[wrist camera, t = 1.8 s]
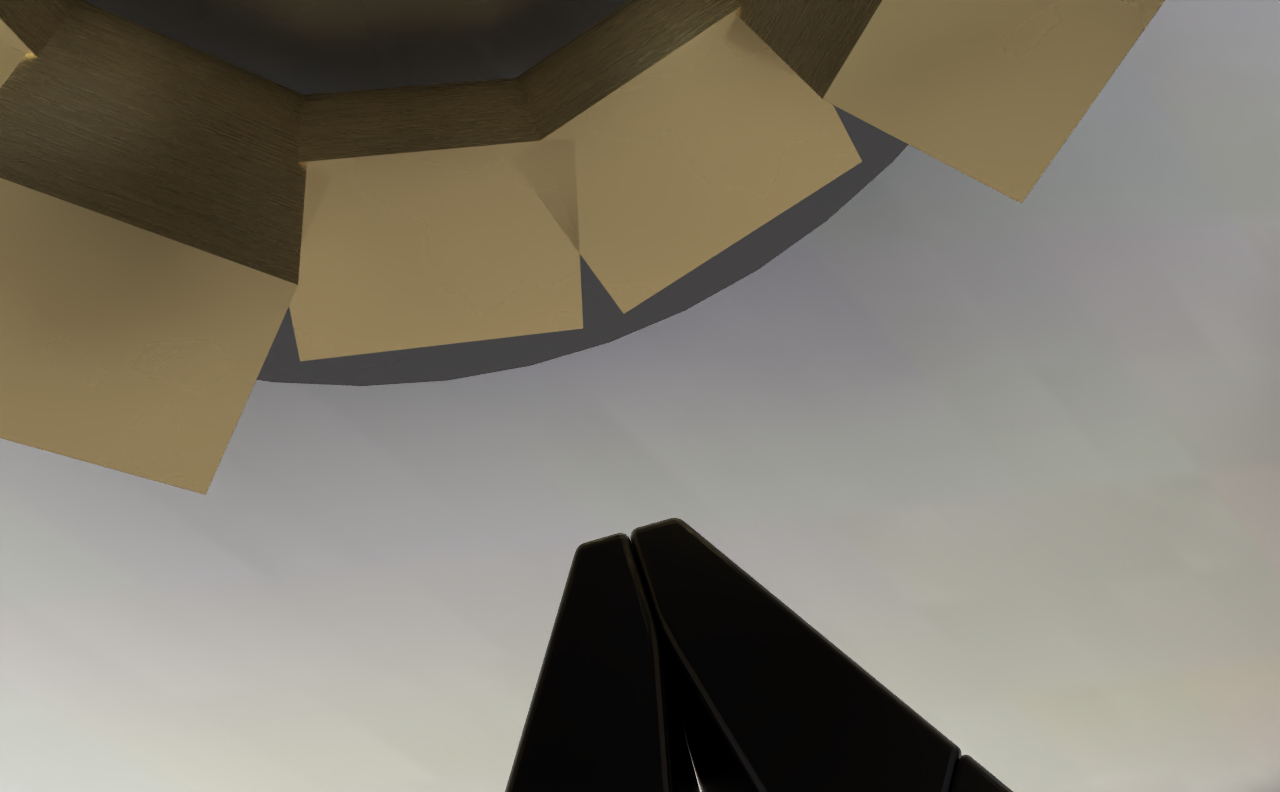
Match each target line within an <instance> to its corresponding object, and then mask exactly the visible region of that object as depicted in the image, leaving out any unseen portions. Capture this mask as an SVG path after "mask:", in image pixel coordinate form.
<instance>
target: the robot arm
mask: <svg viewBox="0 0 1280 792" xmlns="http://www.w3.org/2000/svg"><path fill="white" fill-rule="evenodd" d="M630 537H631V541H630V539H629V537H628V536H627V535H626V534H623V533H618V534H614V535H610V536H607V537H603V538H600V539H596V540H593V541H589V542H586V543H583V544H581V545H580V546H579V547H578V548H577V550H576V552H575V555H574V558H573V561H572V565H571V568H570V572H569V575H568V578H567V582H566V585H565V589H564V592H563V596H562V599H561V602H560V606H559V609H558V613H557V616H556V619H555V623H554V626H553V630H552V633H551V637H550V640H549V643H548V647H547V650H546V654H545V657H544V660H543V664H542V667H541V671H540V674H539V677H538V681H537V684H536V688H535V691H534V695H533V698H532V701H531V705H530V708H529V712H528V715H527V718H526V722H525V725H524V729H523V732H522V736H521V739H520V742H519V746H518V749H517V753H516V756H515V759H514V763H513V766H512V770H511V773H510V776H509V780H508V783H507V787H506V790H505V792H700V791H699V787H698V783H697V779H696V775H697V778H698V781H699V784H700V787H701V790H702V792H1013V791H1012V790H1011V789H1009V788H1008V787H1007V786H1005V785H1004V784H1003V783H1002V782H1001V781H999V780H998V779H997V778H996V777H995V776H993V775H992V774H991V773H990V772H989V771H987V770H986V769H985V768H984V767H983V766H981V765H980V764H979V763H978V762H977V761H975V760H974V759H973V758H972V757H970V756H969V755H963V756H961V750H960V748H959V747H958V746H956V745H955V744H954V743H953V742H952V741H950V740H949V739H948V738H947V737H945V736H944V735H943V734H942V733H941V732H939V731H938V730H937V729H936V728H935V727H933V726H932V725H931V724H930V723H928V722H927V721H926V720H925V719H924V718H922V717H921V716H920V715H919V714H918V713H916V712H915V711H914V710H913V709H911V708H910V707H909V706H908V705H907V704H905V703H904V702H903V701H902V700H900V699H899V698H898V697H897V696H896V695H894V694H893V693H892V692H891V691H890V690H888V689H887V688H886V687H885V686H883V685H882V684H881V683H880V682H879V681H877V680H876V679H875V678H874V677H873V676H871V675H870V674H869V673H868V672H866V671H865V670H864V669H863V668H862V667H860V666H859V665H858V664H857V663H856V662H854V661H853V660H852V659H851V658H849V657H848V656H847V655H846V654H845V653H843V652H842V651H841V650H840V649H839V648H837V647H836V646H835V645H834V644H832V643H831V642H830V641H829V640H828V639H826V638H825V637H824V636H823V635H822V634H820V633H819V632H818V631H817V630H815V629H814V628H813V627H812V626H811V625H809V624H808V623H807V622H806V621H804V620H803V619H802V618H801V617H800V616H798V615H797V614H796V613H795V612H794V611H792V610H791V609H790V608H789V607H787V606H786V605H785V604H784V603H783V602H781V601H780V600H779V599H778V598H777V597H775V596H774V595H773V594H772V593H770V592H769V591H768V590H767V589H766V588H764V587H763V586H762V585H761V584H760V583H758V582H757V581H756V580H755V579H753V578H752V577H751V576H750V575H749V574H747V573H746V572H745V571H744V570H743V569H741V568H740V567H739V566H738V565H736V564H735V563H734V562H733V561H732V560H730V559H729V558H728V557H727V556H726V555H724V554H723V553H722V552H721V551H719V550H718V549H717V548H716V547H715V546H713V545H712V544H711V543H710V542H708V541H707V540H706V539H705V538H704V537H702V536H701V535H700V534H699V533H698V532H696V531H695V530H694V529H693V528H691V527H690V526H689V525H688V524H687V523H685V522H684V521H682V520H681V519H678V518H670V519H667V520H663V521H660V522H656V523H653V524H649V525H646V526H642V527H639V528H636V529H634V530H633V532H632V533H631V536H630ZM689 751H690V752H689ZM691 758H692V759H691ZM692 761H693V763H692ZM693 765H694V767H693ZM694 768H695V771H696V775H695V771H694Z"/></svg>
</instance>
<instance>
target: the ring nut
mask: <svg viewBox="0 0 1280 792" xmlns="http://www.w3.org/2000/svg"><path fill="white" fill-rule="evenodd" d="M1164 1H1165V0H629V1H628V2H626V3H625V4H624V5H622V6H621V7H619V8H618V9H616V10H615V11H613V12H612V13H610V14H609V15H607V16H606V17H604V18H603V19H601V20H600V21H599V22H597V23H596V24H594V25H593V26H591V27H590V28H588V29H587V30H585V31H584V32H582V33H581V34H579V35H578V36H576V37H575V38H574V39H572V40H571V41H569V42H568V43H566V44H565V45H563V46H562V47H560V48H559V49H557V50H556V51H554V52H553V53H551V54H550V55H549V56H547V57H546V58H544V59H543V60H541V61H540V62H538V63H537V64H535V65H534V66H532V67H531V68H529V69H528V70H526V71H525V72H524V73H522V74H521V75H519V76H518V77H516V78H505V79H492V80H480V81H468V82H455V83H443V84H430V85H418V86H406V87H393V88H381V89H368V90H356V91H344V92H331V93H319V94H307V95H303V94H301V93H299V92H296V91H294V90H292V89H289V88H287V87H285V86H282V85H280V84H278V83H275V82H273V81H271V80H268V79H266V78H264V77H261V76H259V75H257V74H254V73H252V72H250V71H247V70H245V69H243V68H240V67H238V66H236V65H233V64H231V63H229V62H226V61H224V60H222V59H219V58H217V57H215V56H212V55H210V54H208V53H205V52H203V51H201V50H198V49H196V48H194V47H191V46H189V45H187V44H184V43H182V42H180V41H177V40H175V39H173V38H170V37H168V36H166V35H163V34H161V33H159V32H156V31H154V30H152V29H149V28H147V27H145V26H142V25H140V24H138V23H135V22H133V21H131V20H128V19H126V18H124V17H121V16H119V15H117V14H114V13H112V12H110V11H107V10H105V9H103V8H100V7H98V6H96V5H93V4H91V3H89V2H86V1H84V0H0V438H2V439H6V440H9V441H13V442H17V443H20V444H24V445H28V446H31V447H35V448H38V449H42V450H46V451H49V452H53V453H57V454H60V455H64V456H67V457H71V458H75V459H78V460H82V461H86V462H89V463H93V464H96V465H100V466H104V467H107V468H111V469H115V470H118V471H122V472H125V473H129V474H133V475H136V476H140V477H144V478H147V479H151V480H154V481H158V482H162V483H165V484H169V485H173V486H176V487H180V488H183V489H187V490H191V491H194V492H198V493H202V494H205V495H206V493H207V491H208V488H209V486H210V484H211V481H212V479H213V477H214V475H215V472H216V470H217V468H218V466H219V463H220V461H221V459H222V456H223V454H224V452H225V450H226V447H227V445H228V443H229V441H230V438H231V436H232V434H233V432H234V429H235V427H236V425H237V422H238V420H239V418H240V416H241V413H242V411H243V409H244V407H245V404H246V402H247V400H248V398H249V395H250V393H251V391H252V388H253V386H254V384H255V382H256V379H257V377H258V375H259V373H260V370H261V368H262V366H263V363H264V361H265V359H266V357H267V354H268V352H269V350H270V348H271V345H272V343H273V341H274V339H275V336H276V334H277V332H278V329H279V327H280V325H281V323H282V320H283V318H284V316H285V314H286V311H287V309H288V307H289V308H290V313H291V318H292V323H293V328H294V333H295V338H296V343H297V348H298V353H299V358H300V361H308V360H316V359H325V358H333V357H342V356H351V355H359V354H368V353H376V352H385V351H394V350H402V349H411V348H419V347H428V346H437V345H445V344H454V343H462V342H471V341H480V340H488V339H497V338H505V337H514V336H523V335H531V334H540V333H548V332H557V331H566V330H574V329H583V314H582V293H581V272H580V255H581V256H582V257H583V259H584V260H585V261H586V263H587V264H588V266H589V267H590V268H591V270H592V271H593V272H594V274H595V275H596V277H597V278H598V279H599V281H600V282H601V283H602V285H603V286H604V288H605V289H606V290H607V292H608V293H609V294H610V296H611V297H612V299H613V300H614V301H615V303H616V304H617V305H618V307H619V308H620V310H621V311H622V312H623V314H625V313H626V312H628V311H629V310H631V309H632V308H634V307H635V306H637V305H639V304H640V303H642V302H643V301H645V300H646V299H648V298H650V297H651V296H653V295H654V294H656V293H657V292H659V291H661V290H662V289H664V288H665V287H667V286H668V285H670V284H671V283H673V282H675V281H676V280H678V279H679V278H681V277H682V276H684V275H686V274H687V273H689V272H690V271H692V270H693V269H695V268H697V267H698V266H700V265H701V264H703V263H704V262H706V261H707V260H709V259H711V258H712V257H714V256H715V255H717V254H718V253H720V252H722V251H723V250H725V249H726V248H728V247H729V246H731V245H732V244H734V243H736V242H737V241H739V240H740V239H742V238H743V237H745V236H747V235H748V234H750V233H751V232H753V231H754V230H756V229H758V228H759V227H761V226H762V225H764V224H765V223H767V222H768V221H770V220H772V219H773V218H775V217H776V216H778V215H779V214H781V213H783V212H784V211H786V210H787V209H789V208H790V207H792V206H794V205H795V204H797V203H798V202H800V201H801V200H803V199H804V198H806V197H808V196H809V195H811V194H812V193H814V192H815V191H817V190H819V189H820V188H822V187H823V186H825V185H826V184H828V183H829V182H831V181H833V180H834V179H836V178H837V177H839V176H840V175H842V174H844V173H845V172H847V171H848V170H850V169H851V168H853V167H855V166H856V165H858V164H859V163H861V162H862V160H861V158H860V156H859V154H858V152H857V150H856V148H855V147H854V145H853V143H852V141H851V139H850V137H849V135H848V133H847V131H846V129H845V127H844V125H843V123H842V121H841V119H840V118H839V116H838V114H837V112H836V110H835V108H834V106H836V107H838V108H840V109H842V110H844V111H846V112H848V113H850V114H852V115H854V116H855V117H857V118H859V119H861V120H863V121H865V122H867V123H869V124H871V125H873V126H874V127H876V128H878V129H880V130H882V131H884V132H886V133H888V134H890V135H892V136H894V137H895V138H897V139H899V140H901V141H903V142H905V143H907V144H909V145H911V146H913V147H915V148H916V149H918V150H920V151H922V152H924V153H926V154H928V155H930V156H932V157H934V158H936V159H937V160H939V161H941V162H943V163H945V164H947V165H949V166H951V167H953V168H955V169H957V170H958V171H960V172H962V173H964V174H966V175H968V176H970V177H972V178H974V179H976V180H978V181H979V182H981V183H983V184H985V185H987V186H989V187H991V188H993V189H995V190H997V191H999V192H1000V193H1002V194H1004V195H1006V196H1008V197H1010V198H1012V199H1014V200H1016V201H1018V202H1020V203H1022V202H1023V201H1024V199H1025V198H1026V196H1027V195H1028V194H1029V192H1030V191H1031V189H1032V188H1033V186H1034V185H1035V184H1036V182H1037V181H1038V179H1039V178H1040V177H1041V175H1042V174H1043V172H1044V171H1045V169H1046V168H1047V167H1048V165H1049V164H1050V162H1051V161H1052V160H1053V158H1054V157H1055V155H1056V154H1057V152H1058V151H1059V150H1060V148H1061V147H1062V145H1063V144H1064V143H1065V141H1066V140H1067V138H1068V137H1069V135H1070V134H1071V133H1072V131H1073V130H1074V128H1075V127H1076V126H1077V124H1078V123H1079V121H1080V120H1081V118H1082V117H1083V116H1084V114H1085V113H1086V111H1087V110H1088V109H1089V107H1090V106H1091V104H1092V103H1093V101H1094V100H1095V99H1096V97H1097V96H1098V94H1099V93H1100V92H1101V90H1102V89H1103V87H1104V86H1105V84H1106V83H1107V82H1108V80H1109V79H1110V77H1111V76H1112V75H1113V73H1114V72H1115V70H1116V69H1117V67H1118V66H1119V65H1120V63H1121V62H1122V60H1123V59H1124V58H1125V56H1126V55H1127V53H1128V52H1129V50H1130V49H1131V48H1132V46H1133V45H1134V43H1135V42H1136V41H1137V39H1138V38H1139V36H1140V35H1141V33H1142V32H1143V31H1144V29H1145V28H1146V26H1147V25H1148V24H1149V22H1150V21H1151V19H1152V18H1153V17H1154V15H1155V14H1156V12H1157V11H1158V9H1159V8H1160V7H1161V5H1162V4H1163V2H1164ZM833 105H834V106H833Z"/></svg>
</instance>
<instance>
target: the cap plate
mask: <svg viewBox="0 0 1280 792" xmlns="http://www.w3.org/2000/svg"><path fill="white" fill-rule="evenodd" d="M84 1H86V2H89V3H91V4H93V5H96V6H98V7H100V8H103V9H105V10H107V11H110V12H112V13H114V14H117V15H119V16H121V17H124V18H126V19H128V20H131V21H133V22H135V23H138V24H140V25H142V26H145V27H147V28H149V29H152V30H154V31H156V32H159V33H161V34H163V35H166V36H168V37H170V38H173V39H175V40H177V41H180V42H182V43H184V44H187V45H189V46H191V47H194V48H196V49H198V50H201V51H203V52H205V53H208V54H210V55H212V56H215V57H217V58H219V59H222V60H224V61H226V62H229V63H231V64H233V65H236V66H238V67H240V68H243V69H245V70H247V71H250V72H252V73H254V74H257V75H259V76H261V77H264V78H266V79H268V80H271V81H273V82H275V83H278V84H280V85H282V86H285V87H287V88H289V89H292V90H294V91H296V92H299V93H301V94H303V95H307V94H319V93H331V92H344V91H356V90H368V89H381V88H393V87H406V86H418V85H430V84H443V83H455V82H468V81H480V80H492V79H505V78H516V77H518V76H519V75H521V74H522V73H524V72H525V71H526V70H528V69H529V68H531V67H532V66H534V65H535V64H537V63H538V62H540V61H541V60H543V59H544V58H546V57H547V56H549V55H550V54H551V53H553V52H554V51H556V50H557V49H559V48H560V47H562V46H563V45H565V44H566V43H568V42H569V41H571V40H572V39H574V38H575V37H576V36H578V35H579V34H581V33H582V32H584V31H585V30H587V29H588V28H590V27H591V26H593V25H594V24H596V23H597V22H599V21H600V20H601V19H603V18H604V17H606V16H607V15H609V14H610V13H612V12H613V11H615V10H616V9H618V8H619V7H621V6H622V5H624V4H625V3H626V2H628V1H629V0H84ZM833 106H834V105H833ZM834 108H835V110H836V112H837V114H838V116H839V118H840V119H841V121H842V123H843V125H844V127H845V129H846V131H847V133H848V135H849V137H850V139H851V141H852V143H853V145H854V147H855V148H856V150H857V152H858V154H859V156H860V158H861V160H862V162H861V163H859V164H858V165H856V166H855V167H853V168H851V169H850V170H848V171H847V172H845V173H844V174H842V175H840V176H839V177H837V178H836V179H834V180H833V181H831V182H829V183H828V184H826V185H825V186H823V187H822V188H820V189H819V190H817V191H815V192H814V193H812V194H811V195H809V196H808V197H806V198H804V199H803V200H801V201H800V202H798V203H797V204H795V205H794V206H792V207H790V208H789V209H787V210H786V211H784V212H783V213H781V214H779V215H778V216H776V217H775V218H773V219H772V220H770V221H768V222H767V223H765V224H764V225H762V226H761V227H759V228H758V229H756V230H754V231H753V232H751V233H750V234H748V235H747V236H745V237H743V238H742V239H740V240H739V241H737V242H736V243H734V244H732V245H731V246H729V247H728V248H726V249H725V250H723V251H722V252H720V253H718V254H717V255H715V256H714V257H712V258H711V259H709V260H707V261H706V262H704V263H703V264H701V265H700V266H698V267H697V268H695V269H693V270H692V271H690V272H689V273H687V274H686V275H684V276H682V277H681V278H679V279H678V280H676V281H675V282H673V283H671V284H670V285H668V286H667V287H665V288H664V289H662V290H661V291H659V292H657V293H656V294H654V295H653V296H651V297H650V298H648V299H646V300H645V301H643V302H642V303H640V304H639V305H637V306H635V307H634V308H632V309H631V310H629V311H628V312H626V313H625V314H623V312H622V311H621V310H620V308H619V307H618V305H617V304H616V303H615V301H614V300H613V299H612V297H611V296H610V294H609V293H608V292H607V290H606V289H605V288H604V286H603V285H602V283H601V282H600V281H599V279H598V278H597V277H596V275H595V274H594V272H593V271H592V270H591V268H590V267H589V266H588V264H587V263H586V261H585V260H584V259H583V257H582V256H581V255H580V272H581V293H582V314H583V329H574V330H566V331H557V332H548V333H540V334H531V335H523V336H514V337H505V338H497V339H488V340H480V341H471V342H462V343H454V344H445V345H437V346H428V347H419V348H411V349H402V350H394V351H385V352H376V353H368V354H359V355H351V356H342V357H333V358H325V359H316V360H308V361H300V358H299V353H298V348H297V343H296V338H295V333H294V328H293V323H292V318H291V313H290V308H289V307H288V309H287V311H286V314H285V316H284V318H283V320H282V323H281V325H280V327H279V329H278V332H277V334H276V336H275V339H274V341H273V343H272V345H271V348H270V350H269V352H268V354H267V357H266V359H265V361H264V363H263V366H262V368H261V370H260V373H259V375H258V377H257V380H263V381H270V382H284V383H307V384H330V385H353V386H368V385H383V384H398V383H413V382H429V381H444V380H452V379H457V378H463V377H469V376H474V375H480V374H486V373H491V372H497V371H502V370H508V369H514V368H519V367H525V366H530V365H534V364H537V363H540V362H544V361H547V360H551V359H554V358H557V357H561V356H564V355H568V354H571V353H574V352H578V351H581V350H585V349H588V348H591V347H595V346H598V345H601V344H605V343H608V342H611V341H613V340H616V339H618V338H620V337H623V336H625V335H628V334H630V333H632V332H635V331H637V330H639V329H642V328H644V327H647V326H649V325H651V324H654V323H656V322H658V321H661V320H663V319H666V318H668V317H670V316H673V315H675V314H677V313H680V312H682V311H685V310H686V309H688V308H690V307H692V306H694V305H695V304H697V303H699V302H701V301H703V300H704V299H706V298H708V297H710V296H712V295H713V294H715V293H717V292H719V291H720V290H722V289H724V288H726V287H728V286H729V285H731V284H733V283H735V282H737V281H738V280H740V279H742V278H744V277H746V276H747V275H749V274H751V273H753V272H754V271H756V270H758V269H759V268H761V267H762V266H764V265H765V264H766V263H768V262H769V261H771V260H772V259H773V258H775V257H776V256H778V255H779V254H780V253H782V252H783V251H785V250H786V249H787V248H789V247H790V246H792V245H793V244H794V243H796V242H797V241H799V240H800V239H801V238H803V237H804V236H806V235H807V234H808V233H810V232H811V231H813V230H814V229H815V228H817V227H818V226H820V225H821V224H822V223H824V222H825V221H827V220H828V219H829V218H830V217H831V216H832V215H833V214H835V213H836V212H837V211H838V210H839V209H840V208H841V207H842V206H844V205H845V204H846V203H847V202H848V201H849V200H850V199H851V198H852V197H854V196H855V195H856V194H857V193H858V192H859V191H860V190H861V189H863V188H864V187H865V186H866V185H867V184H868V183H869V182H870V181H872V180H873V179H874V178H875V177H876V176H877V175H878V174H879V173H880V172H882V171H883V170H884V169H885V168H886V167H887V166H888V165H889V164H891V163H892V162H893V161H894V159H895V158H896V157H897V156H898V155H899V154H900V153H901V152H902V151H903V150H904V148H905V147H906V146H907V145H908V144H907V143H905V142H903V141H901V140H899V139H897V138H895V137H894V136H892V135H890V134H888V133H886V132H884V131H882V130H880V129H878V128H876V127H874V126H873V125H871V124H869V123H867V122H865V121H863V120H861V119H859V118H857V117H855V116H854V115H852V114H850V113H848V112H846V111H844V110H842V109H840V108H838V107H836V106H834Z"/></svg>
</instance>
